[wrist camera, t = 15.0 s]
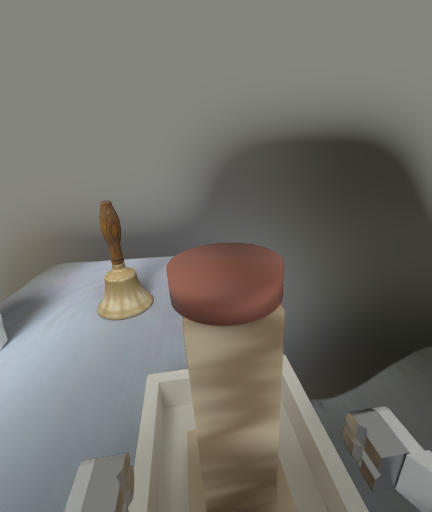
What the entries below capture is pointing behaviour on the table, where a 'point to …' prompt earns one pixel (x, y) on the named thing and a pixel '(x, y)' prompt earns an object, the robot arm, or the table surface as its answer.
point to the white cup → (2, 334)
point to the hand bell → (119, 274)
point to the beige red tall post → (233, 375)
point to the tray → (290, 450)
